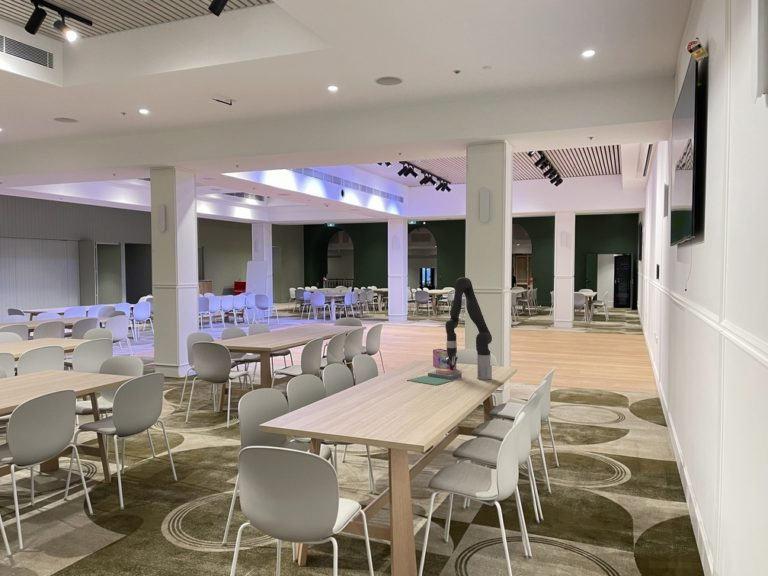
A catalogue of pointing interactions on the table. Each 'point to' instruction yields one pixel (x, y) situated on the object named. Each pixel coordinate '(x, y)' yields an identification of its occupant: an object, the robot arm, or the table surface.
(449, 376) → the gray riser
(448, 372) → the coral tile
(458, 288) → the robot arm
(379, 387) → the table surface
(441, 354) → the gum box
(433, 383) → the green mat
